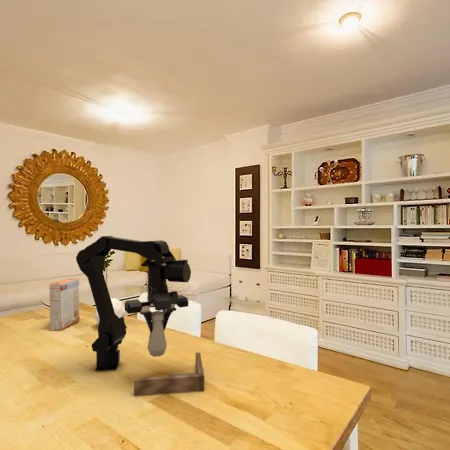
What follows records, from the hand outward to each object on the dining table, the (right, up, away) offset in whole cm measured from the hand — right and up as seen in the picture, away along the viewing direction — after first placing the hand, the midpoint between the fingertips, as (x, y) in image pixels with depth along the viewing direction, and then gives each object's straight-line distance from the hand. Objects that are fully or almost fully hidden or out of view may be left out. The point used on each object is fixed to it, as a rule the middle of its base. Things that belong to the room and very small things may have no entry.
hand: (157, 331), depth 99 cm
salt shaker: (0, -7, 0) cm, 7 cm away
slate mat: (+8, -13, -5) cm, 16 cm away
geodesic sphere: (-32, -14, +48) cm, 59 cm away
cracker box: (-53, -14, +49) cm, 73 cm away
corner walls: (+5, -13, -3) cm, 14 cm away
